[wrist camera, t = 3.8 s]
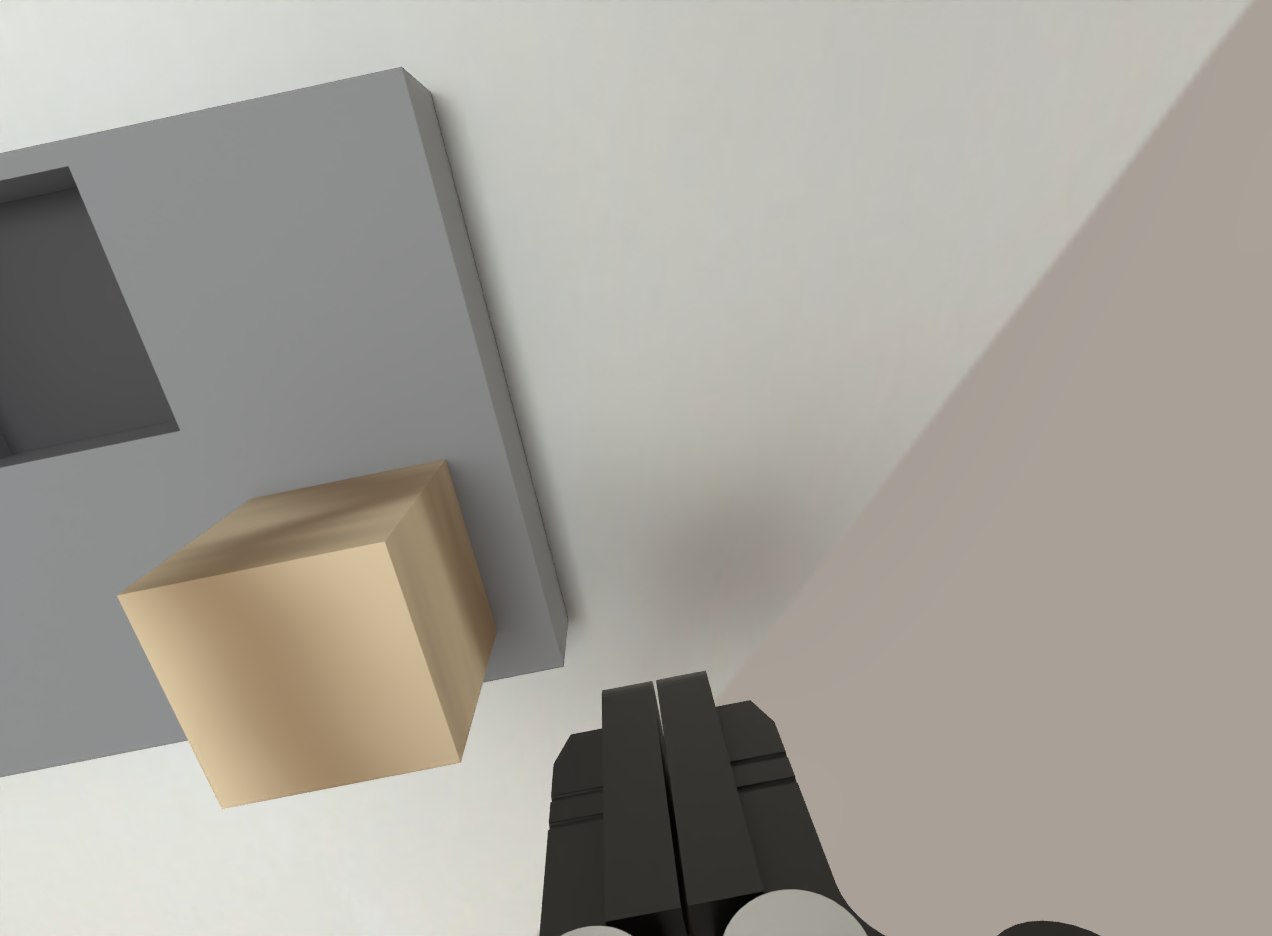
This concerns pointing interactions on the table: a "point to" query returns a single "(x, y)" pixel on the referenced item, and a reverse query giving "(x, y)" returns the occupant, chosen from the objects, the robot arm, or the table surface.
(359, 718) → the beech block
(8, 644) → the trap deck
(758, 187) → the table surface
